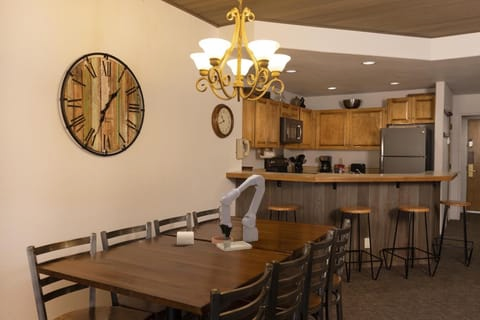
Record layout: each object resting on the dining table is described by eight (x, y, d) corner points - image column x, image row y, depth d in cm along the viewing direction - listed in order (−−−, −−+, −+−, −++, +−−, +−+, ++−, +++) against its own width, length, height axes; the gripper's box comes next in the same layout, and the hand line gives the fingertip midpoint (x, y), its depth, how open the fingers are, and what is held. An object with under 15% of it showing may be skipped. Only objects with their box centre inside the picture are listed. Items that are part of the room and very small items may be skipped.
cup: (193, 242, 237) (176, 243, 236) (193, 248, 248) (177, 248, 247) (193, 229, 241) (177, 230, 240) (193, 235, 252) (178, 235, 251)
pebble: (229, 246, 234) (229, 240, 234) (231, 248, 230) (231, 241, 230) (222, 247, 232) (222, 241, 232) (225, 249, 228) (225, 242, 228)
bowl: (227, 240, 254) (227, 235, 254) (235, 245, 242) (235, 239, 242) (209, 242, 248) (209, 237, 248) (216, 247, 237) (216, 241, 237)
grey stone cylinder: (228, 239, 249) (228, 232, 249) (230, 240, 245) (230, 234, 245) (221, 239, 247) (221, 233, 247) (223, 241, 243) (223, 234, 243)
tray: (243, 244, 242) (243, 240, 242) (252, 249, 230) (252, 245, 230) (216, 247, 235) (216, 243, 235) (224, 252, 223) (224, 248, 223)
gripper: (216, 214, 251) (216, 234, 251) (224, 217, 238) (224, 239, 238) (226, 213, 254) (226, 233, 254) (234, 216, 241) (234, 238, 241)
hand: (226, 236), depth 246 cm, fingers open, 5 cm apart
